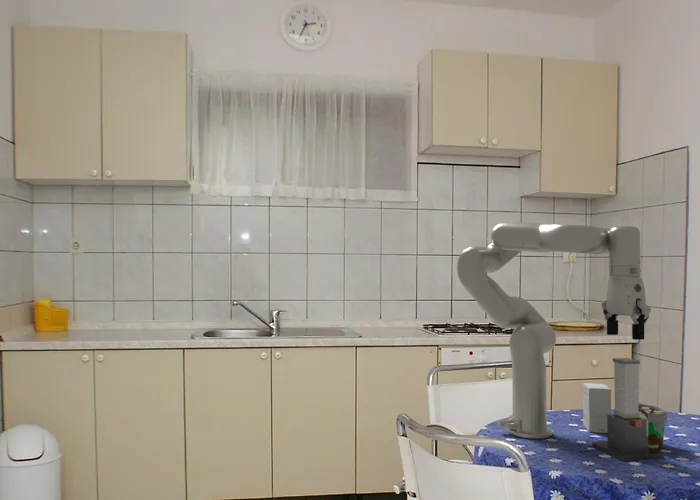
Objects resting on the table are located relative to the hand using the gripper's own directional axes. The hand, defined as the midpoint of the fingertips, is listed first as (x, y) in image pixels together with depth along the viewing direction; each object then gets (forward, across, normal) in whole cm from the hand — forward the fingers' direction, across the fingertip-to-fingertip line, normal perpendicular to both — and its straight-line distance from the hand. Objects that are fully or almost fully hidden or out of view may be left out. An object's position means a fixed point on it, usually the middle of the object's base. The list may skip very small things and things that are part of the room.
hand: (624, 337), depth 149 cm
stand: (+30, 0, 0) cm, 30 cm away
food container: (+30, +2, -11) cm, 32 cm away
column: (+23, 0, 0) cm, 23 cm away
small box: (+31, +20, -6) cm, 37 cm away
